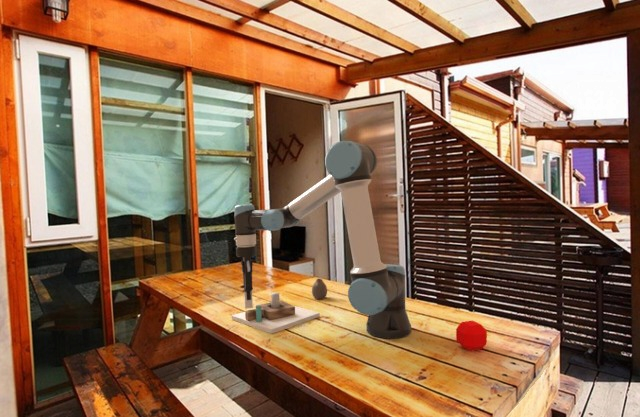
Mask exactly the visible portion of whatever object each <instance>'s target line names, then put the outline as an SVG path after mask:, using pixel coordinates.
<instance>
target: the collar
mask: <svg viewBox="0 0 640 417" xmlns="http://www.w3.org/2000/svg"><path fill="white" fill-rule="evenodd" d="M256 306H261V311H262V318H263V317H265V318H266V319H268V320H272V319H277V318H281V317H286V316H291V315H295V307H294V306H295V305H293V306H292V304H290V303H288V302H285V301H283V300H280V307H279V308H274V309H272V308H271V302H266V303H261V304H257V305H256ZM256 306H255V307H256ZM244 312H245V319H246V320H248V321H249V320H254V319H256V308H252V309H250V310H249V309H248V310H245V311H244Z"/></svg>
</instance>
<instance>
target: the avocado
mask: <svg viewBox="0 0 640 417" xmlns="http://www.w3.org/2000/svg"><path fill="white" fill-rule="evenodd" d="M311 294H312V296H313V298H314V299H315V300H324V299H325V298H326V297H327V295H328V287H327V285H326V284H325V282H324V281H323V279H322V278H316V280H315V281H314V284H313V285H312V288H311Z"/></svg>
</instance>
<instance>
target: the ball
mask: <svg viewBox="0 0 640 417" xmlns="http://www.w3.org/2000/svg"><path fill="white" fill-rule="evenodd" d="M487 336H488V331H487V329H486V328H485V326H483V325H482V324H481V323H480V322H476V321H475V320H465V321H461V322H460V323H459V324H458V326H457V327H456V330H455V338H456V339H455V341H456V342H457V343H458V344H459V345H460V346H461V347H462V346H463V348H464V349H466V350H468V351H469V350H470V351H469V352H473V351H472V350H474V351H478V350H477V349H480V350H482V349H483V348H484V347H486V346H487V341H488V340H487V338H488V337H487Z"/></svg>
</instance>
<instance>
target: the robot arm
mask: <svg viewBox="0 0 640 417" xmlns="http://www.w3.org/2000/svg"><path fill="white" fill-rule="evenodd" d="M324 158H325V159H324V165H325V169H326V171H327V173H328V175H327V176H325V177H323V178H322V179H321V180H320V181H318V182H317V183H315V184H314V185H313V186H311V187H310V188H309V189H307V190H306V191H304V192H303V193H302V194H300V195H299V196H297V197H296V198H295V199H293V200H292V201H291V202H289V203H288V204H286V205H285V206H284V207H281V208H273V209H272V208H270V209H256V208H255V205H254V204H237V205H235V206H234V216H233V218H234V228H235V229H234V230H235V233H234V234H235V237H234V238H233V240H234V241H235V246H236V247H235V254H236V257H237V258H242V260H241V261H240V265H241V272H242V277H243V278H242V280H243V289H242V292H243V294H244V309H254V307H253V306H254V304H253V289H254V288H253V265H254V263H253V260H252V258H251V257H255V256H257V246H256V245H257V234H256V231H269V232H273V231H279V230H281V229H284V228H285V229H286V228H291V227H294V226H295V227H296V226H297V225H298V224H299V223H300V221H301V220H302V219H303V218H304V217H306V216H308V215H309V214H311V213H313V211H315V210H316V209H318V208H319V207H321V206H322V205H324V204H325V203H326V202H327V203H328V201H330V200H331V199H332V198H334V197H336V196H337V195H339V194H340V193H341V194H340V195H341V199H342V200H341V201H342V206H343V211H344V217H345V222H346V230H347V234H348V240H349V241H348V242H349V246H350V251H351V258H352V263H353V267H352V268H351V269H350V271H349V273H350V280H351V283H350V285H349V287H348V288H347V299H348V301H349V303H350V305H351V306H352V307H353V309H354V310H356V311H357V312H358V313H360V314H362V315H365V316H368V318H367V320H366V327H365V328H366V330H365V331H366V332H367V333H368V334H369V335H371V336H373V337H377V338H382V339H400V338H405V337H407V336H409V335H410V334H411V333H412V324H411V322H410V318H409V316H408V312H407V310H406V270H405V268H404V266H403V265H399V264H391V263H389V264H388V263H384V262H382V261H381V256H380V249H379V244H378V240H377V239H378V238H377V233H376V227H375V221H374V216H373V210H372V202H371V199H370V193H369V188H368V186H370V184H371V182H372V177H371V176H372V175H373V174H374V173H375V171H376V169H377V167H378V155H377V153H376V152H375V150H374V149H373V148H372V147H371V146H369V145H368V144H363V143H358V142H355V141H353V140H340V141H338V142H336V143H334V144H332V145H331V146H330V148H329V149H328V151H327V152H326V155H325V157H324Z"/></svg>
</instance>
